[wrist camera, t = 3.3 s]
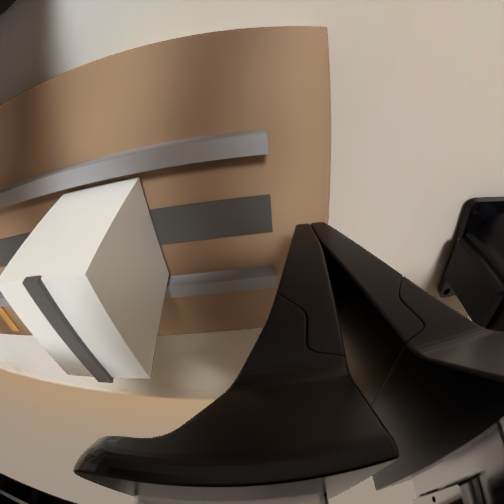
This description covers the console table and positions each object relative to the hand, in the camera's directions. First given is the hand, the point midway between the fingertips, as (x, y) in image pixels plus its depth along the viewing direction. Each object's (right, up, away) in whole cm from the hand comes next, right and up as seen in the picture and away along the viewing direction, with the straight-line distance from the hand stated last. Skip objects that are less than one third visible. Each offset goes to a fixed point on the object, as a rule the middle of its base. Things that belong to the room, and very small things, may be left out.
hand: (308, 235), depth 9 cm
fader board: (-9, +1, +2) cm, 9 cm away
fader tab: (-6, 0, +1) cm, 7 cm away
